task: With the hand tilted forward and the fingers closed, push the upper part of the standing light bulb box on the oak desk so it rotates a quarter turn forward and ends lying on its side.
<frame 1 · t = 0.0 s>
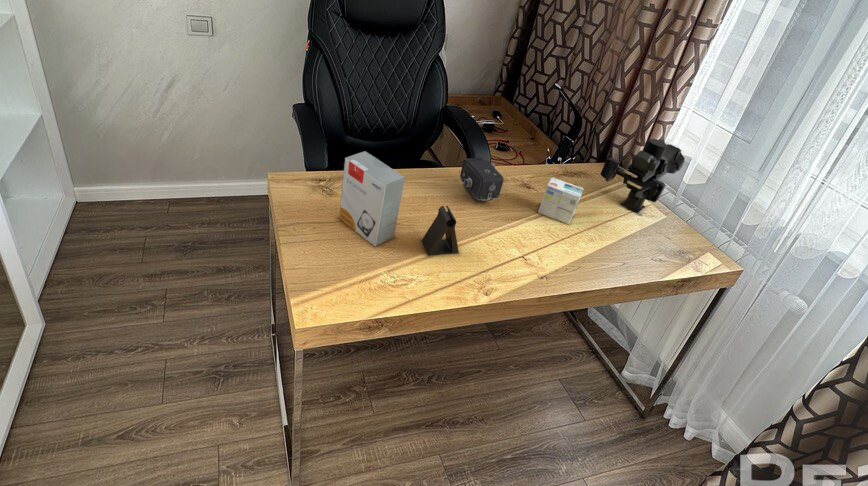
hand: (620, 187, 152), 17 cm above the table, tool horizontal, fingers open, 9 cm apart
camera: (476, 195, 166), on the table
phone stand: (439, 248, 141), on the table
hard drive box: (366, 228, 142), on the table
light bulb box: (554, 214, 165), on the table
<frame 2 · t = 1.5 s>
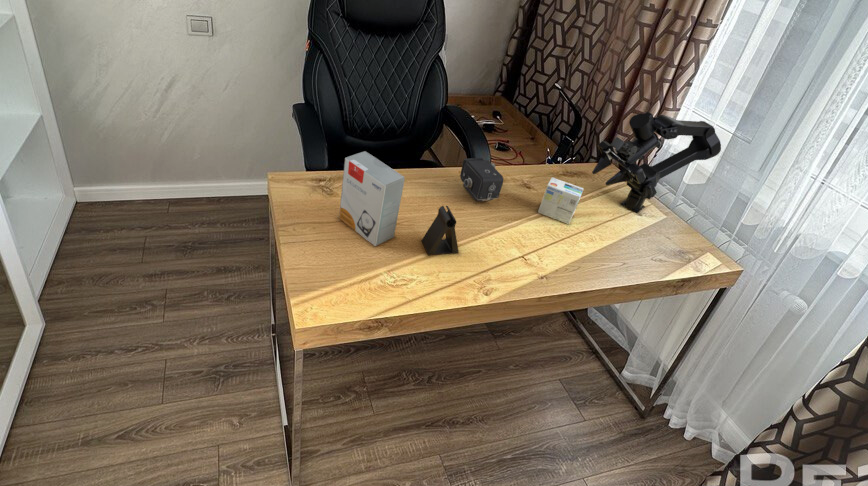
hand: (599, 178, 162), 13 cm above the table, tool tilted 45°, fingers open, 6 cm apart
nothing on the table moved.
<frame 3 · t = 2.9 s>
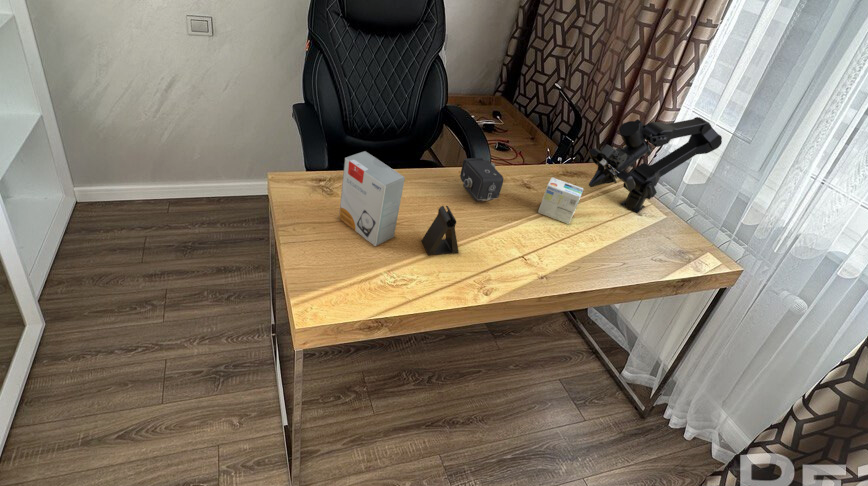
hand: (589, 185, 163), 10 cm above the table, tool tilted 45°, fingers closed
nothing on the table moved.
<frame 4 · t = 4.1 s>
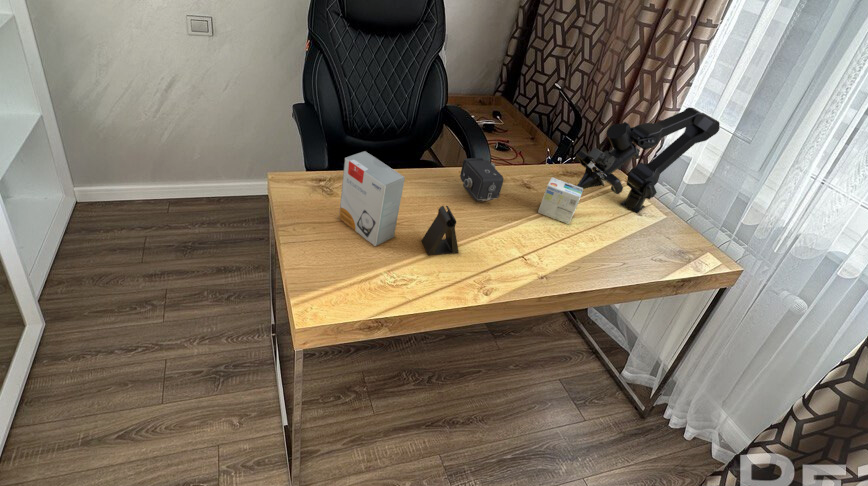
hand: (577, 188, 161), 9 cm above the table, tool tilted 45°, fingers closed
light bulb box: (554, 214, 165), on the table, touching gripper
everything else where it was.
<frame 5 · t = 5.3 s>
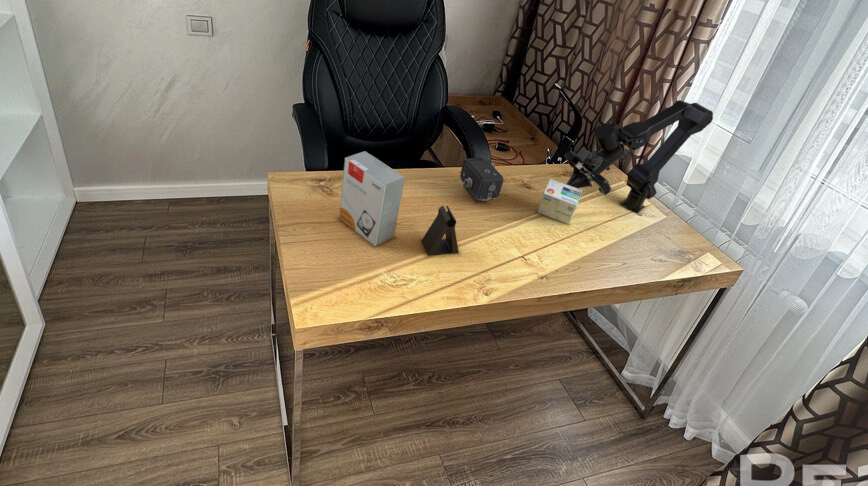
hand: (565, 189, 159), 9 cm above the table, tool tilted 45°, fingers closed
light bulb box: (555, 211, 164), point 1 cm above the table, touching gripper
everything else where it was.
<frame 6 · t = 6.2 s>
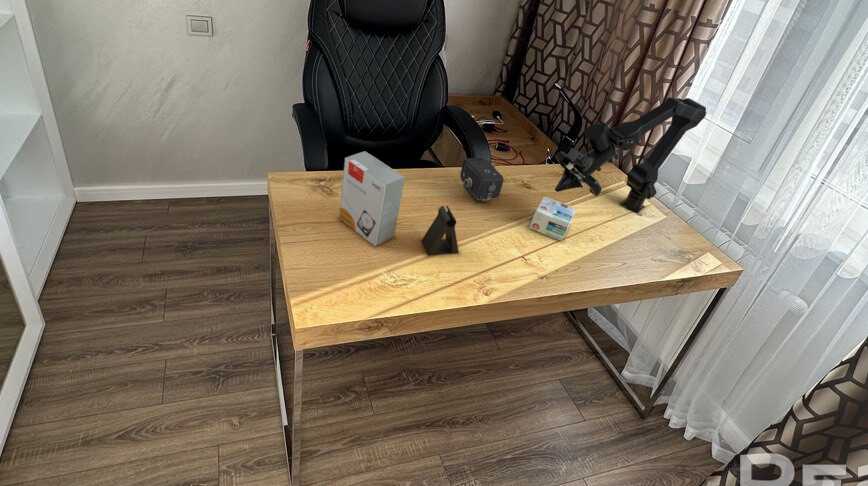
hand: (555, 190, 158), 9 cm above the table, tool tilted 45°, fingers closed
light bulb box: (556, 210, 161), point 3 cm above the table
everything else where it was.
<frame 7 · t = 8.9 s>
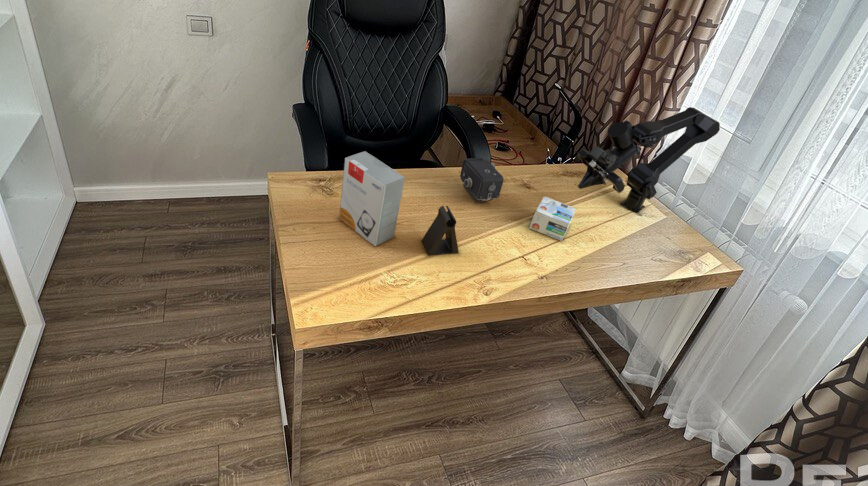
hand: (578, 187, 161), 10 cm above the table, tool tilted 45°, fingers closed
nothing on the table moved.
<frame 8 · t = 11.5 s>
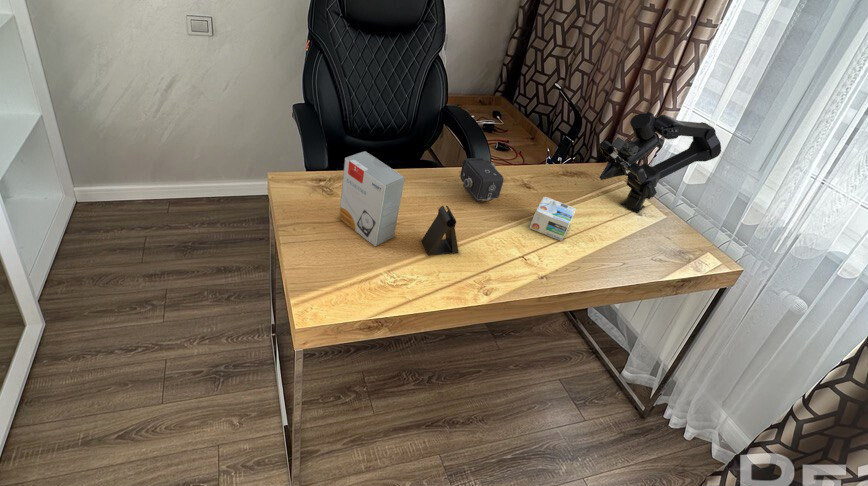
hand: (600, 178, 163), 13 cm above the table, tool tilted 45°, fingers closed
nothing on the table moved.
at the end: light bulb box tilted 89°; light bulb box moved 4.3 cm from its start; the gripper is holding nothing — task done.
